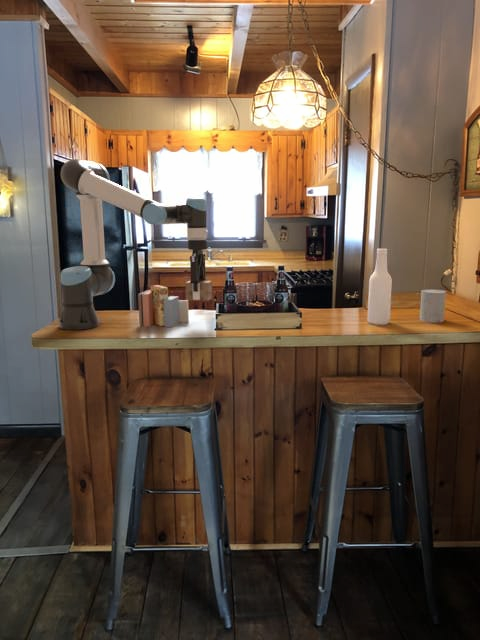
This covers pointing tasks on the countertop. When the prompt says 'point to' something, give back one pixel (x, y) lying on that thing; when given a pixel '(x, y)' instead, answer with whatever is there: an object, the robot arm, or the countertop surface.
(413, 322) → the countertop surface
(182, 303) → the book rack
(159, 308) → the candy box
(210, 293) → the walnut block
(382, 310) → the alcohol
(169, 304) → the shelved books
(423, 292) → the grey cylinder
